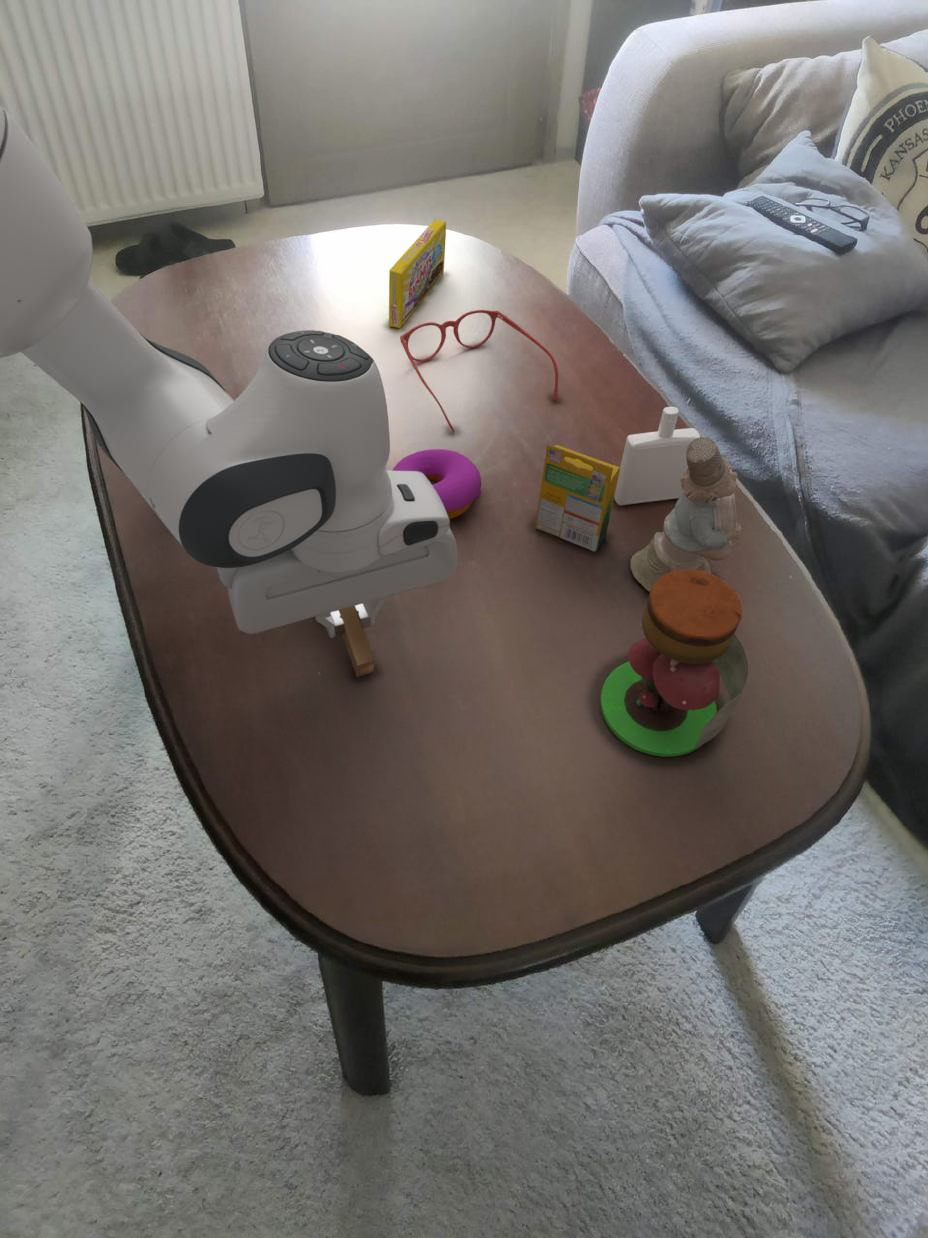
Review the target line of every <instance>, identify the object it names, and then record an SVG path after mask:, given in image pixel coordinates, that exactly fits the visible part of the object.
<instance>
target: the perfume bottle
mask: <svg viewBox="0 0 928 1238" xmlns="http://www.w3.org/2000/svg"><path fill="white" fill-rule="evenodd" d="M679 414H680V410H679V409H678V407H676V406H667V407H666V406H665V407H664V408H663V409H662V413H661V416H660V420H659V425H658V429H657V431H649V432H641V433H634V434H628V435H627V436H626V440H625V445H624V450H623V453H622V458H621V462H620V466H619V467H620V473H619V477H618V482H617V486H616V491H615V495H614V502H615V503H616V504H617V505H618V506H626V505H635V504H636V505H637V504H644V503H653V502H660V501H668V500H678V499H679V498H680V497H681V495H682V492H683V488H682V485H681V484H682V483H681V479H682V478H683V477H684V473H685V472H686V471H687V469H688V465H687V460H686V452H687V447H688V445H689V444H690V442H691V441H693V440H694V439H696V438H700V437H701V435H700V433H699V431H698V430H697V429H696V428H694V427H688V428H677V429H675V428H676V425H677V422H678V417H679Z"/></svg>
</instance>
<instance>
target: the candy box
mask: <svg viewBox="0 0 928 1238" xmlns="http://www.w3.org/2000/svg"><path fill="white" fill-rule="evenodd" d="M446 238H447V221H445V220H441V219H437V218H435V219H434V220H433V221H432V222H431V223H430V224H429V225H428V226H427V227H426V229H424V231H423V232H422V233H421V234H420V235H419V236H418V237H417V239H415V241H414V242H413V243H412V244H411V245H410V247H408V248H407V250H406V251H405V252H404V253H403V254H402V255H401V256H400V258H398V260H396V262H395V263H394V264H393V266H391V268H390V269H389V273H388V275H389V277H388V279H389V280H388V281H389V282H388V326H389V327H391V328H395V329H401V327H403V325H404V324H405V322H406V321H407V320H408V319H409V318H410V316H411V315H412V314H413V312H414V311H416V309H417V308H418V307H419V305H420V304H421V303H422V302H423V300H424V299H425V298H426V297H427V296H428V294H430V292H431V291H432V289H434V287H435V285H436V284H437V283H438V281H440V279H442V277H443V276H444V273H445V272H444V271H445V256H446V255H445V254H446Z"/></svg>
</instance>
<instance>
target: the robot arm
mask: <svg viewBox="0 0 928 1238" xmlns="http://www.w3.org/2000/svg"><path fill="white" fill-rule="evenodd" d="M93 248H94V246H93V236H92V234H91V232H90V229H89V228H88V226H87V224H86V222H85V221H84V219H83V217H82V215H81V213H80V212H79V210H78V209H77V207H76V205H75V204H74V202H73V200H72V198H71V197H70V195H69V194H68V192H67V190H66V189H65V187H64V186H63V184H62V183H61V181H60V179H59V178H58V176H57V175H56V173H55V172H54V170H53V169H52V167H51V166H50V164H49V163H48V161H47V160H46V159H45V157H44V156H43V154H42V153H41V152H40V150H39V148H37V147H36V145H35V144H34V142H33V141H32V140H31V139H30V138H29V136H28V135H27V134H26V132H25V131H24V130H23V129H22V127H21V126H20V125H19V124H18V123H17V121H16V120H15V119H14V117H12V116H11V114H10V113H9V112H8V111H7V109H6V108H5V107H4V106H3V105H2V104H1V103H0V359H4V358H7V357H11V356H14V355H16V354H19V353H21V354H23V356H25V357H26V358H27V359H28V360H29V361H31V362H32V363H33V364H35V366H37V367H38V368H39V369H40V370H41V371H43V372H44V373H45V374H46V375H48V376H49V377H50V378H51V379H53V380H54V381H55V382H56V383H57V384H58V385H59V386H61V387H62V388H63V389H64V390H66V391H67V392H68V393H69V394H70V395H72V397H74V398H75V399H76V400H78V402H79V403H80V404H81V405H82V408H83V410H84V412H85V414H86V417H87V420H88V422H89V425H90V428H91V431H92V433H93V436H94V438H95V440H96V442H97V444H98V445H99V447H100V449H101V450H102V451H103V453H104V454H105V456H107V458H108V459H109V460H110V461H111V462H112V463H113V464H114V465H115V466H116V467H117V469H119V470H120V472H122V473H123V474H124V475H125V476H126V478H127V479H128V480H129V481H130V482H131V484H132V485H133V486H134V487H135V490H137V492H138V493H139V494H140V495H141V496H142V498H143V499H144V500H145V502H146V503H147V504H148V505H149V507H150V508H151V510H152V511H153V512H154V513H155V515H156V516H157V517H158V518H159V520H160V521H161V522H162V523H163V525H164V526H165V527H166V529H167V530H168V531H169V532H170V534H171V535H172V536H173V537H174V539H176V541H177V542H178V543H179V544H180V545H181V546H182V547H183V549H184V550H185V552H186V554H188V555H189V556H190V557H191V558H192V559H193V560H195V561H196V562H198V563H200V564H203V565H206V566H208V567H212V568H215V569H216V573H217V576H218V580H219V582H220V583H221V584H222V585H223V586H224V587H225V588H227V594H228V600H229V605H230V608H231V611H232V615H233V619H234V621H235V624H236V627H237V629H238V630H239V631H241V632H243V633H245V634H248V635H255V634H258V633H262V632H265V631H268V630H269V631H270V630H272V629H276V628H279V627H283V626H286V625H287V626H288V625H290V624H294V623H298V622H301V621H305V620H308V619H311V618H314V619H315V621H316V622H317V623H319V624H321V625H322V626H323V627H325V628H326V631H327V634H328V637H329V638H330V639H332V638H336V637H338V636H343V635H342V634H345V630H344V627H345V626H344V622H343V619H342V618H341V614H340V612H339V610H340V609H344V608H347V607H351V606H355V608H356V611H357V613H358V617H359V620H360V622H361V624H362V627H363V629H367V628H371V627H374V626H376V625H377V622H376V621H377V620H376V615H377V614H378V613H379V612H380V611H381V609H382V608H383V606H384V605H385V603H386V602H387V597H390V596H393V595H397V594H401V593H404V592H407V591H411V590H415V589H419V588H423V587H426V586H429V585H433V584H436V583H439V582H444V581H447V580H449V579H451V578H452V577H453V575H454V574H455V573H456V572H457V570H458V569H459V555H458V554H459V553H458V545H457V539H456V537H455V535H454V533H453V531H452V530H451V527H450V522H451V521H450V519H449V517H448V515H447V512H446V509H445V507H444V505H443V503H442V501H441V499H440V497H439V495H438V493H437V492H436V490H435V489H434V487H433V486H432V483H431V481H429V480H428V479H427V478H426V476H425V475H424V474H423V473H421V472H417V471H392V470H393V469H392V470H389V469H387V464H388V461H389V460H390V459H389V458H390V454H391V440H390V439H391V437H390V435H391V434H390V422H389V413H388V412H389V411H388V405H387V398H386V392H385V388H384V384H383V380H382V377H381V373H380V370H379V368H378V366H377V363H376V361H375V359H374V358H373V357H372V356H371V355H370V353H368V352H366V351H365V349H363V348H361V347H360V346H359V345H358V344H356V343H355V342H354V341H352V340H351V339H348V338H347V337H344V336H342V335H339V334H335V333H332V332H326V331H323V330H314V329H313V330H312V329H309V330H308V329H307V330H298V331H292V332H288V333H285V334H282V335H279V336H277V337H276V338H274V339H272V341H271V342H270V343H269V344H268V346H267V348H266V350H265V353H264V357H263V360H262V362H261V365H260V367H259V369H258V371H257V372H256V374H255V376H254V377H253V378H252V379H251V381H250V382H249V384H248V385H247V386H246V388H245V389H244V390H243V391H242V392H241V393H240V394H239V395H238V396H237V397H236V398H235V400H234V399H233V398H232V397H231V396H230V395H229V394H228V392H227V391H226V389H225V388H224V387H223V385H222V384H221V383H220V382H219V381H218V380H217V378H216V377H215V376H214V375H213V374H212V372H211V371H210V370H209V369H208V368H207V367H206V366H205V365H203V364H202V363H201V362H199V361H198V360H196V359H195V358H193V357H191V356H189V355H186V354H185V353H182V352H179V351H177V350H175V349H172V348H169V347H167V346H163V345H161V344H158V343H156V342H154V341H152V340H150V339H148V338H146V337H145V336H144V335H143V334H142V333H141V332H140V331H139V330H138V329H136V328H135V326H134V325H132V324H131V323H132V322H130V321H129V320H128V319H127V318H126V317H125V316H124V315H123V313H121V312H120V310H119V309H118V308H117V307H116V306H115V305H114V304H113V303H112V302H111V301H110V300H109V298H107V296H105V294H104V293H103V292H102V291H101V290H100V289H99V287H97V286H96V285H95V284H94V282H93V281H92V280H91V279H90V276H91V272H92V265H93V254H94V253H93V252H94V249H93Z"/></svg>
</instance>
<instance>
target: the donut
mask: <svg viewBox="0 0 928 1238" xmlns="http://www.w3.org/2000/svg"><path fill="white" fill-rule="evenodd" d="M392 471H417V472H421V473H423V474H424V475H425V476H426V478H427V479H428V480H429V481H430V482H436V483H433V484H432V483H431V484H432V486H433V487H434V489H435V490H436V492H437V493H438V495H439V497H440V499H441V501H442V503H443V505H444V507H445V509H446V512H447V515H448V517H449V520H451V519H454V518H457V517H459V516H461V515H462V514H464V513H465V512H466V511H467V510H469V508H470V507H471V505H472V503H473V500H474V499H476V497H477V499H480V497H481V494H482V477H481V472H480V471H479V468H478V467H477V465H475V464H474V463H473V461H472V460H471V459H470V458H469V457H467V456H465V455H464V454H462V453H461V452H458V451H455V450H451V449H443V448H442V449H440V448H438V449H437V448H436V449H435V448H433V449H424V450H419V451H415V452H413V453H410V454H408V455H407V456H405V457H402V459H400V460H399V461H398V462H397V463H396V465H395V466H394V467H393V468H392Z"/></svg>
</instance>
